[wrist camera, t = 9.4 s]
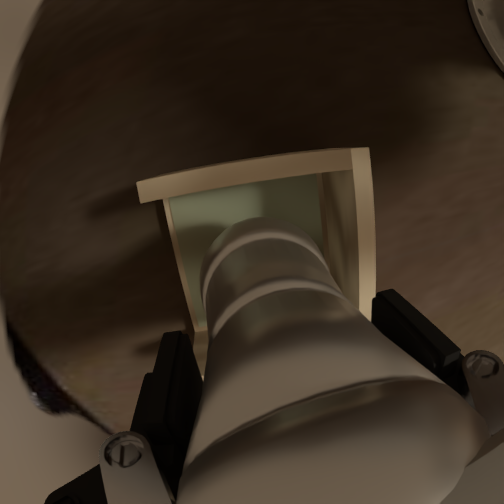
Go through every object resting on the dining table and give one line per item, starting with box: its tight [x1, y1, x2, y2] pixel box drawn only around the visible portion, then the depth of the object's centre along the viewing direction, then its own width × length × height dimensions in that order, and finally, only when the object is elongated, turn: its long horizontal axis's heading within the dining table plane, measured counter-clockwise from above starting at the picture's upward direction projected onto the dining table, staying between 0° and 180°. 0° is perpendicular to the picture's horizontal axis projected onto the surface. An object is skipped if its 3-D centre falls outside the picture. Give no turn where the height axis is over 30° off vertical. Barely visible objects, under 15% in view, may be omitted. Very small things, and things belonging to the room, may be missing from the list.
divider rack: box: [136, 147, 376, 381], centre depth 19 cm, size 23×11×6 cm, turn 9°
